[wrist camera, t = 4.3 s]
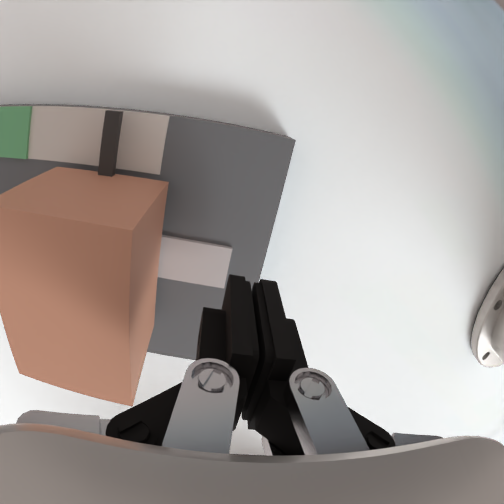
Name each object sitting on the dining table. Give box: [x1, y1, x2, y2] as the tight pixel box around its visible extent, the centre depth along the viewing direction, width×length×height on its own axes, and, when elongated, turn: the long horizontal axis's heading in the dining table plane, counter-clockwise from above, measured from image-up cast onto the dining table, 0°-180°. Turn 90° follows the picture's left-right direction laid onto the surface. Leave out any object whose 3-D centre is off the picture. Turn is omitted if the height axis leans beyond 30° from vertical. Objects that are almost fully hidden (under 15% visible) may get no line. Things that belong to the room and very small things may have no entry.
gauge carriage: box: [0, 110, 169, 406], centre depth 10 cm, size 8×10×5 cm
